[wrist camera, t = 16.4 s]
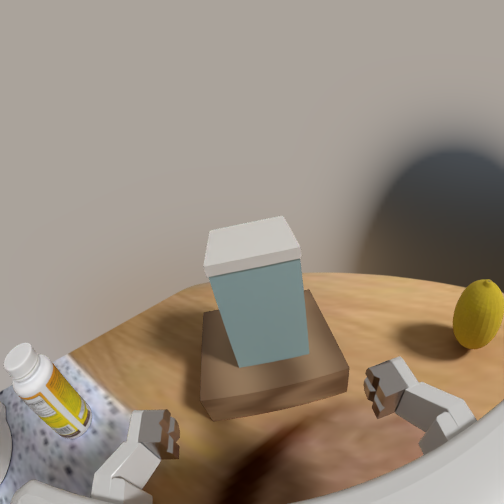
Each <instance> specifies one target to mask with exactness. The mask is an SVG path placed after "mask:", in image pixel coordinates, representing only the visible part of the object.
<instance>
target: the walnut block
mask: <svg viewBox="0 0 504 504" xmlns="http://www.w3.org/2000/svg"><path fill="white" fill-rule="evenodd" d="M304 299H305V309H306V319H307V330H308V342H309V354H307V355H302V356H298V357H294V358H289V359H284V360H279V361H274V362H269V363H264V364H258V365H253V366H247V367H241V368H239V366H238V363H237V360H236V357H235V354H234V352H233V349H232V346H231V343H230V340H229V337H228V335H227V332H226V329H225V326H224V323H223V320H222V317H221V314H220V311H219V310H214V311H209V312H204V316H203V334H202V356H201V387H200V401H201V403H202V405H203V406H204V408H205V409H206V411H207V413H208V414H209V416H210V417H211V419H212V420H213V421H219V420H227V419H234V418H240V417H247V416H252V415H258V414H263V413H268V412H273V411H278V410H282V409H287V408H291V407H295V406H299V405H303V404H307V403H311V402H314V401H318V400H321V399H325V398H328V397H331V396H335V395H338V394H341V393H344V392H347V386H348V377H349V366H348V364H347V362H346V360H345V358H344V356H343V354H342V352H341V350H340V348H339V346H338V344H337V342H336V340H335V338H334V336H333V334H332V332H331V330H330V328H329V326H328V324H327V323H326V321H325V319H324V317H323V315H322V313H321V311H320V309H319V307H318V305H317V303H316V301H315V300H314V298H313V296H312V294H311V292H310V290H309V289H308V290H304Z"/></svg>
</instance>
